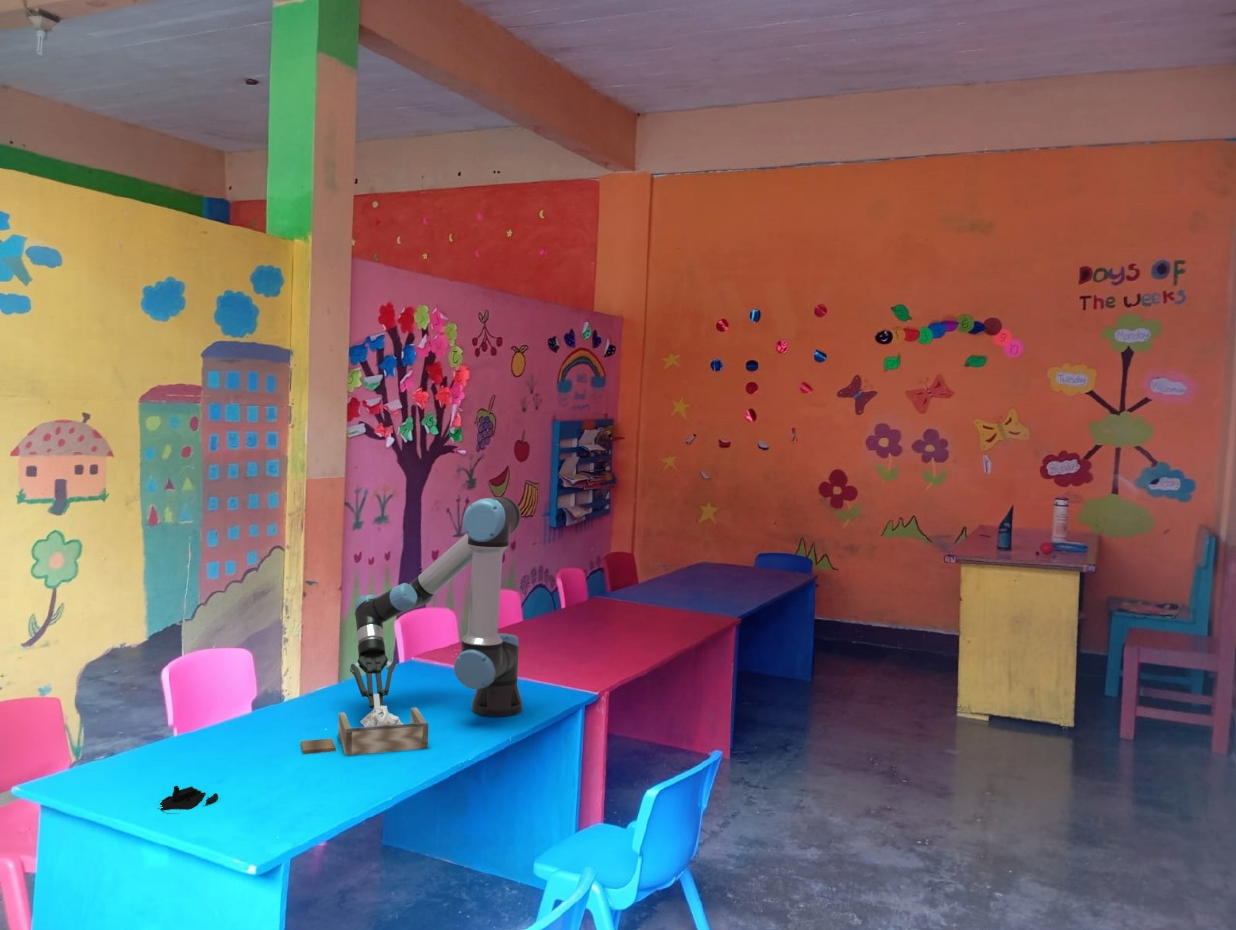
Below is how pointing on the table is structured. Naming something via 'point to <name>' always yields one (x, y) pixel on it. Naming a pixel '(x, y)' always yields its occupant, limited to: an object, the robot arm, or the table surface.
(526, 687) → the table surface
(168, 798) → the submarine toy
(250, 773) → the table surface
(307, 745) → the lid plate
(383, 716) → the white rock
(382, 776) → the table surface
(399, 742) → the brown wooden box
